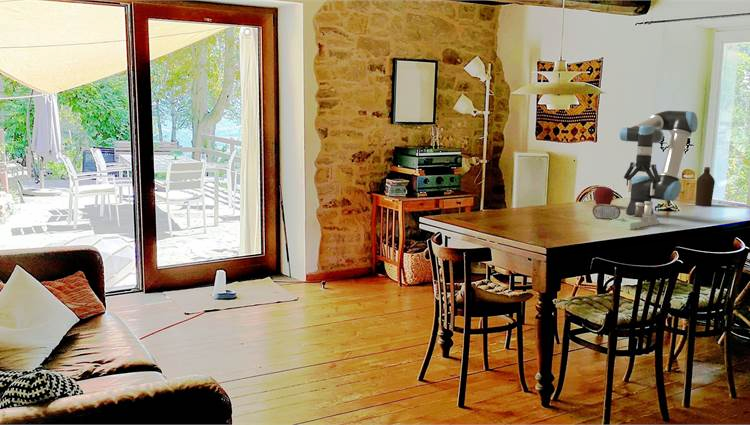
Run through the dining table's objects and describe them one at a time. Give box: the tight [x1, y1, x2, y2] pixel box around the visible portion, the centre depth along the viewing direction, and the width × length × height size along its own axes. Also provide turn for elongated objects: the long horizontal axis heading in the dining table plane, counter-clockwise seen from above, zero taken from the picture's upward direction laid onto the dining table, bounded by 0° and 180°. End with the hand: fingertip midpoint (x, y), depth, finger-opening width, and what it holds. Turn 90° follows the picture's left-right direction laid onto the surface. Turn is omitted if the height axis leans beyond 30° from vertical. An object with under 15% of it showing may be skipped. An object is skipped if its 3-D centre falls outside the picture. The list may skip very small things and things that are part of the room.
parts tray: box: [609, 217, 644, 230], centre depth 366 cm, size 12×12×4 cm
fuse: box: [644, 200, 654, 216], centre depth 378 cm, size 4×4×10 cm
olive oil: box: [695, 166, 716, 207], centre depth 444 cm, size 11×11×25 cm
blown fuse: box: [635, 202, 644, 218], centre depth 372 cm, size 4×4×10 cm
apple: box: [593, 186, 615, 205], centre depth 430 cm, size 12×12×13 cm
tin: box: [592, 204, 621, 220], centre depth 388 cm, size 15×3×8 cm, turn 74°
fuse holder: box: [627, 214, 660, 227], centre depth 376 cm, size 10×17×4 cm, turn 128°
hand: (640, 193), depth 370 cm, fingers open, 13 cm apart
